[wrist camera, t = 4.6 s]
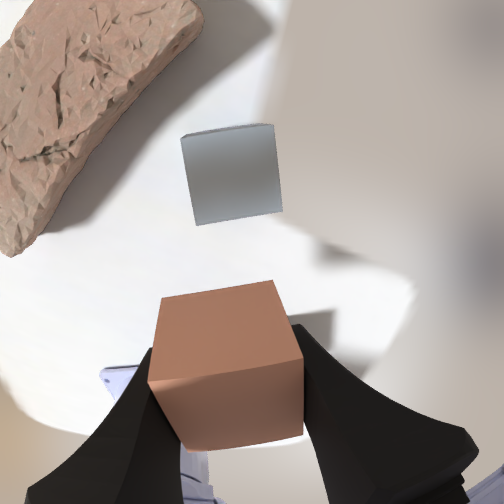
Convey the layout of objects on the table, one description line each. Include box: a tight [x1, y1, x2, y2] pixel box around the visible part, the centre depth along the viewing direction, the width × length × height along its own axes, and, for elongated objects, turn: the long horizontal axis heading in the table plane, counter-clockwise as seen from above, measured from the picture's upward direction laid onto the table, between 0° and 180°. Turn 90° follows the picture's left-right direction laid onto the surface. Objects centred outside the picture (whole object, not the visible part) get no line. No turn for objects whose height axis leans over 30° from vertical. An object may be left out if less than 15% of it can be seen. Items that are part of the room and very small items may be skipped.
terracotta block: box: [147, 280, 304, 453], centre depth 10 cm, size 4×4×4 cm
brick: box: [0, 0, 204, 258], centre depth 12 cm, size 17×8×5 cm, turn 135°
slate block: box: [180, 123, 283, 226], centre depth 15 cm, size 4×4×4 cm
